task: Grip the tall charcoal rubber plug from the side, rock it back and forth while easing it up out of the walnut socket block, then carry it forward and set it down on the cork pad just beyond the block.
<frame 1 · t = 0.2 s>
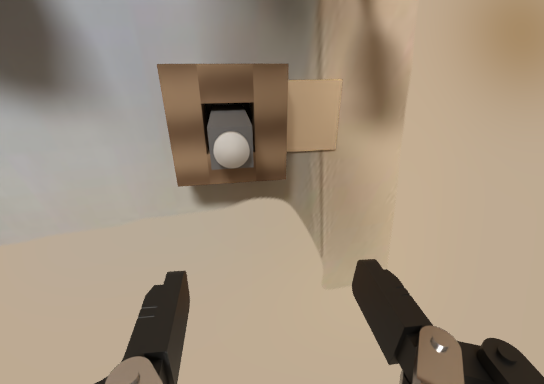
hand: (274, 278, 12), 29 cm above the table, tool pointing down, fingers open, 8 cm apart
header: (228, 119, 37), on the table
pad: (311, 116, 39), on the table
plug: (229, 132, 30), in the header
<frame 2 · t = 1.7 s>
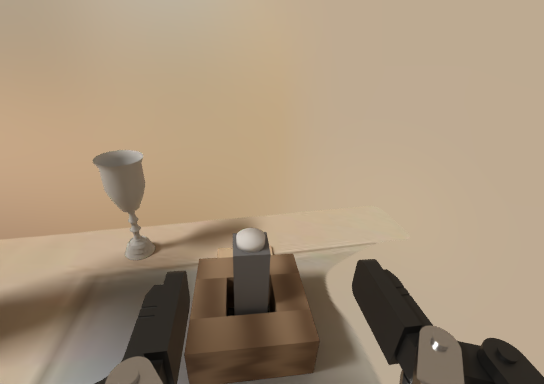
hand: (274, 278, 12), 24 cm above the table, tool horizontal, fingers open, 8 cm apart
chalice: (140, 251, 49), on the table
header: (249, 324, 36), on the table
pad: (245, 263, 47), on the table
plug: (250, 285, 33), in the header
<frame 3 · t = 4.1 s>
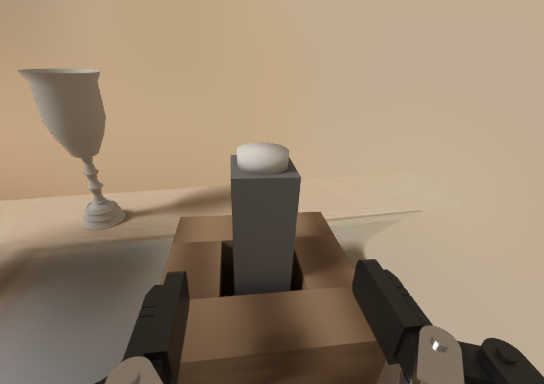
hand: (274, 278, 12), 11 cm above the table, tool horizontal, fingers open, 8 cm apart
chalice: (105, 220, 35), on the table
header: (258, 315, 23), on the table
plug: (260, 247, 20), in the header
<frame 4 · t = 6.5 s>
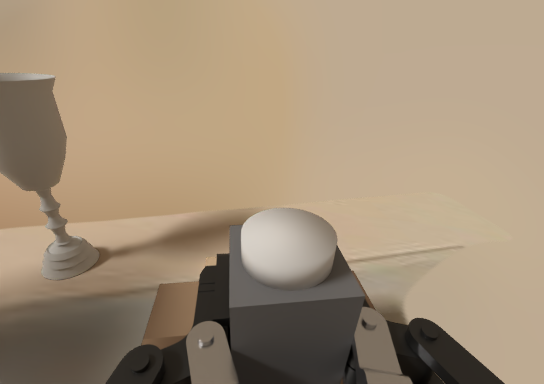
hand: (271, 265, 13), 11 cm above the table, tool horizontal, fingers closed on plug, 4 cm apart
chalice: (72, 263, 28), on the table
plug: (277, 364, 12), in the header, touching gripper
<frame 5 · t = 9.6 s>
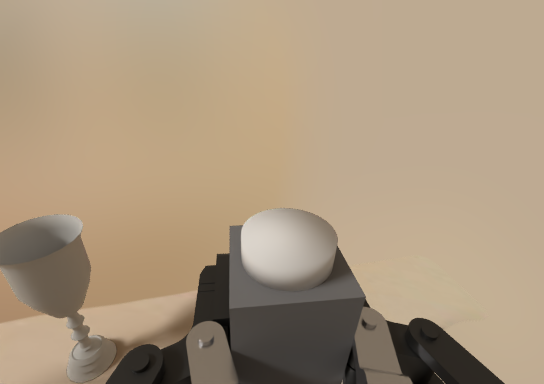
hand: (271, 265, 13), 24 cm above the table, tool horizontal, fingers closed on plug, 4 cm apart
chalice: (92, 360, 32), on the table
plug: (277, 365, 12), point 20 cm above the table, touching gripper
when the fingers open (12 cm above the table, at t = 12.8 s): plug stays where it is, resting on pad.
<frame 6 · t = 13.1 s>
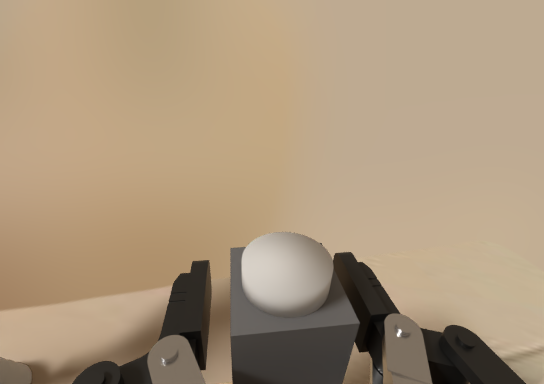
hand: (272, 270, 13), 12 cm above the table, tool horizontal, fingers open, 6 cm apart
plug: (276, 379, 13), on the pad
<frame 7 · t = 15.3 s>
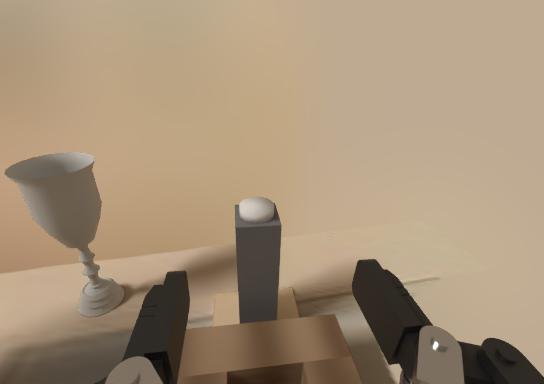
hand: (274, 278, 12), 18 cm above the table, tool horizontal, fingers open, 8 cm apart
chalice: (102, 300, 33), on the table
pad: (256, 319, 31), on the table
plug: (256, 267, 28), on the pad
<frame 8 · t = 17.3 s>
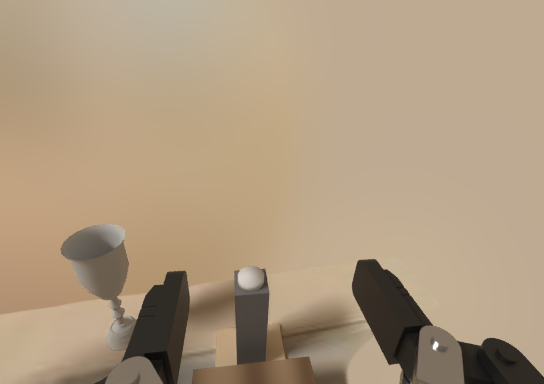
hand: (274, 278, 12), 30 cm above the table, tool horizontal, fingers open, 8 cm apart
chalice: (125, 334, 41), on the table
pad: (250, 352, 39), on the table
plug: (250, 316, 36), on the pad
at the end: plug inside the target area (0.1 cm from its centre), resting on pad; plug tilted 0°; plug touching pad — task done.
